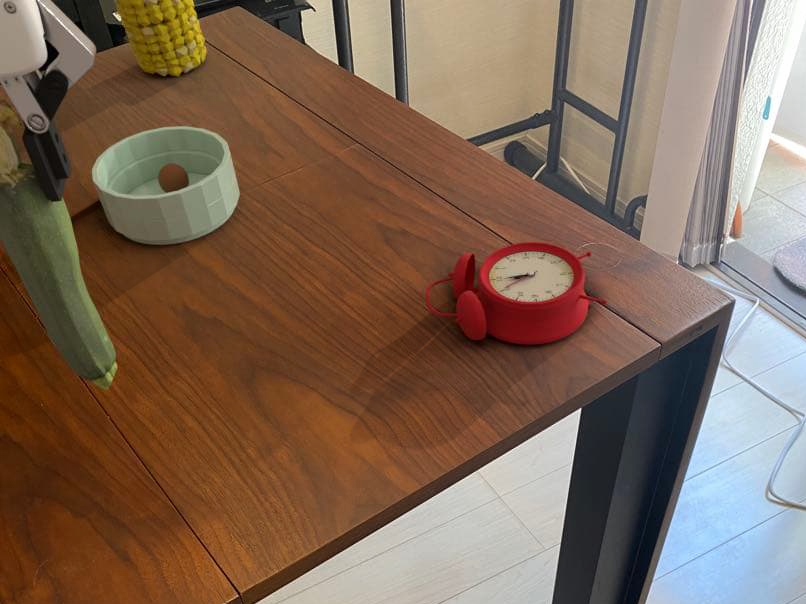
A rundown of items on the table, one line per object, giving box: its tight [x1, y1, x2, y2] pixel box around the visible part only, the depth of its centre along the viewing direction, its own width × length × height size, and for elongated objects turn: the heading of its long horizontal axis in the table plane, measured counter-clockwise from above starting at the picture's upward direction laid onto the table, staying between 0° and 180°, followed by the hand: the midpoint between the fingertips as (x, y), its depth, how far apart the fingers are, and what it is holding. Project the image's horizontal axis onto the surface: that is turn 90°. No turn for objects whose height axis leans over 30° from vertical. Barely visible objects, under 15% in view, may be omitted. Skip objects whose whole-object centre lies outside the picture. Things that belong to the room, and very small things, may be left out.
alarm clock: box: [425, 241, 607, 345], centre depth 75 cm, size 10×6×15 cm
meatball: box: [158, 163, 189, 193], centre depth 90 cm, size 3×3×3 cm
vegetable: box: [0, 98, 118, 391], centre depth 53 cm, size 4×4×20 cm
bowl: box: [91, 125, 241, 246], centre depth 89 cm, size 14×14×6 cm
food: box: [113, 0, 208, 77], centre depth 107 cm, size 15×12×10 cm
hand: (18, 190), depth 50 cm, fingers closed on vegetable, 3 cm apart
